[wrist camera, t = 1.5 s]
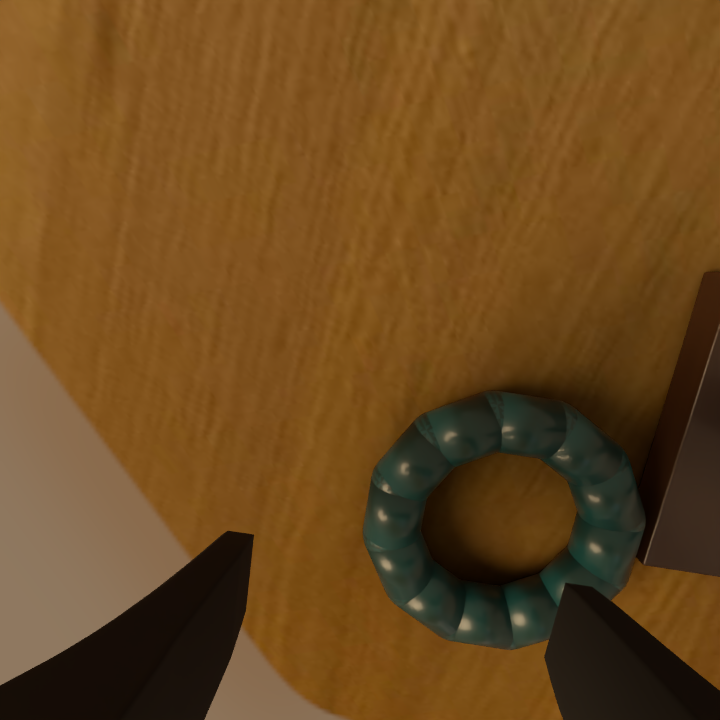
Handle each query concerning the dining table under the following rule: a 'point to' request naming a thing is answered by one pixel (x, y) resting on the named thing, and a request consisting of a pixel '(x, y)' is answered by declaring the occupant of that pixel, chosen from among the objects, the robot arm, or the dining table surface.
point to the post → (688, 452)
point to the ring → (477, 440)
